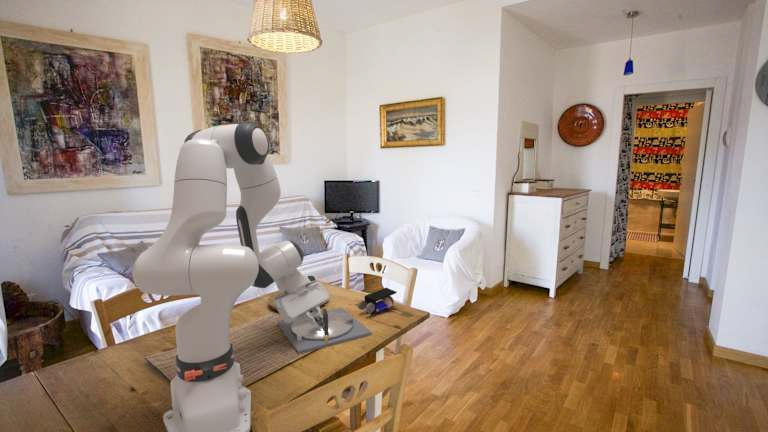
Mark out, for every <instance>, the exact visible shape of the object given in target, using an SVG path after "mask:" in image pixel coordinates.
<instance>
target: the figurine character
mask: <svg viewBox="0 0 768 432" xmlns="http://www.w3.org/2000/svg"><path fill="white" fill-rule="evenodd" d="M395 294H397V291H396V290H393V289H391V288H388V287H384V288H381V289H378V290H376V291H373V292H370V293H368V294H366V295H364V299H361V300H360V301H358V303H357V308H358V309H359V310H361V311H364V310H365V311H366V312H364V315H367V314H369V317H372V316H373V315H375V314H377V312H380V311H383V310H385V309H390V308H392V307H393V306H394V304H395V300H394V298H393V297H392V296H393V295H395Z"/></svg>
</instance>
